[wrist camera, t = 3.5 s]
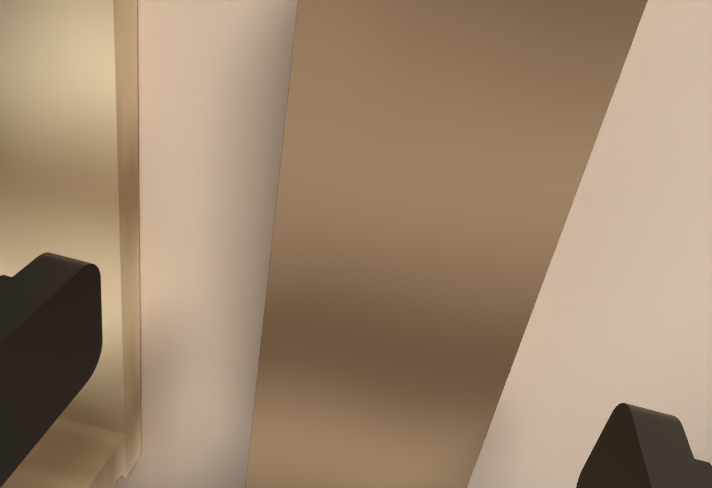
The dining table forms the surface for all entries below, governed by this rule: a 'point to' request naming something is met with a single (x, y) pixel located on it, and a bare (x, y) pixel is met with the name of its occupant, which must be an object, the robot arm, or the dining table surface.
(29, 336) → the robot arm
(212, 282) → the dining table surface
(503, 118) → the shelf board
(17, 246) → the peg jig
